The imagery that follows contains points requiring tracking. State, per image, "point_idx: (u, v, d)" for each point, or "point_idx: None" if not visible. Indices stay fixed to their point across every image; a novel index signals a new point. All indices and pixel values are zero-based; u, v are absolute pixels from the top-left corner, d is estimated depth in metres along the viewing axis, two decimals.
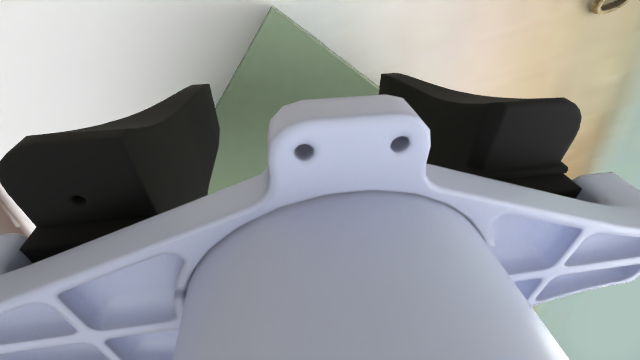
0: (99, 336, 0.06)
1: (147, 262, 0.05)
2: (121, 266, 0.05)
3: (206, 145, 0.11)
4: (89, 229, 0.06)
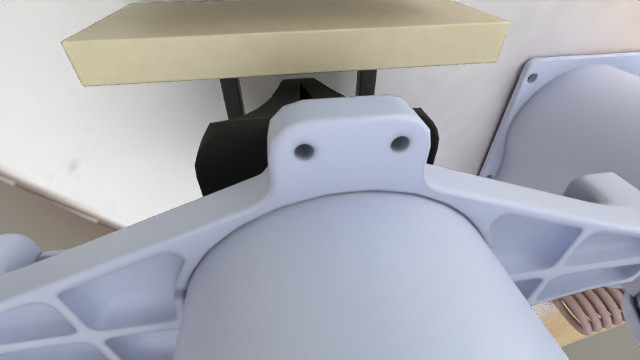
0: (99, 336, 0.06)
1: (147, 262, 0.05)
2: (120, 266, 0.05)
3: None
4: None
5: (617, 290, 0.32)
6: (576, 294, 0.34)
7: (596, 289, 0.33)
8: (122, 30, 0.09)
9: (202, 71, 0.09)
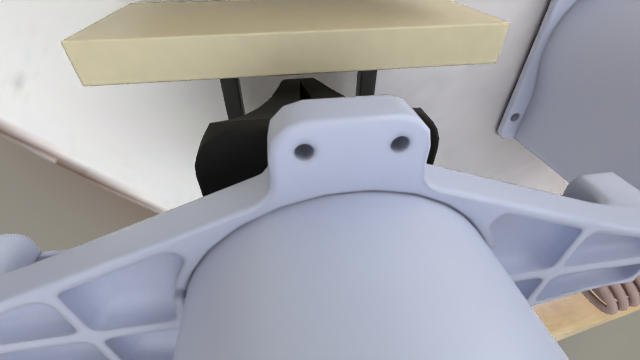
0: (99, 336, 0.06)
1: (147, 262, 0.05)
2: (120, 266, 0.05)
3: None
4: None
5: None
6: None
7: None
8: (122, 30, 0.09)
9: (202, 71, 0.09)
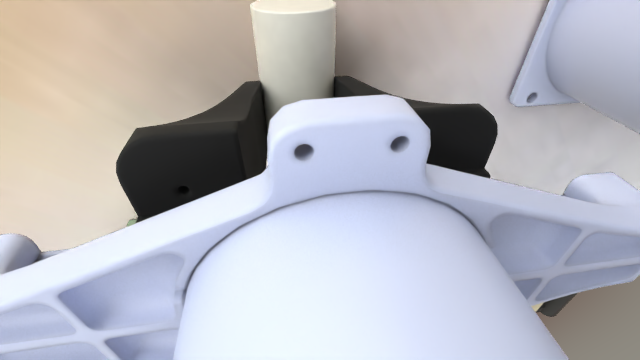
0: (99, 336, 0.06)
1: (147, 262, 0.05)
2: (120, 266, 0.05)
3: (262, 141, 0.11)
4: None
5: None
6: None
7: None
8: None
9: None
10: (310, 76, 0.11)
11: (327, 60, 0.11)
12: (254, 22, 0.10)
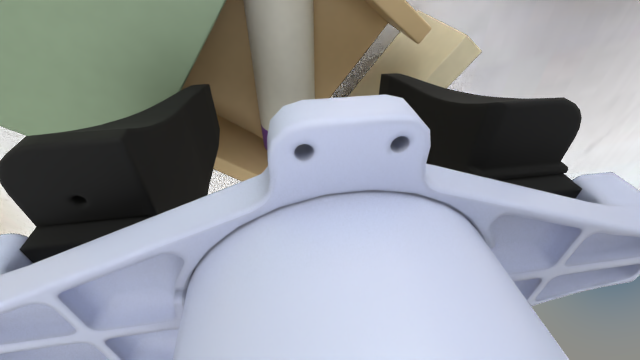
0: (99, 336, 0.06)
1: (147, 262, 0.05)
2: (120, 266, 0.05)
3: (206, 145, 0.11)
4: (89, 229, 0.06)
5: None
6: None
7: None
8: None
9: None
10: (281, 52, 0.13)
11: (298, 40, 0.13)
12: (244, 4, 0.13)
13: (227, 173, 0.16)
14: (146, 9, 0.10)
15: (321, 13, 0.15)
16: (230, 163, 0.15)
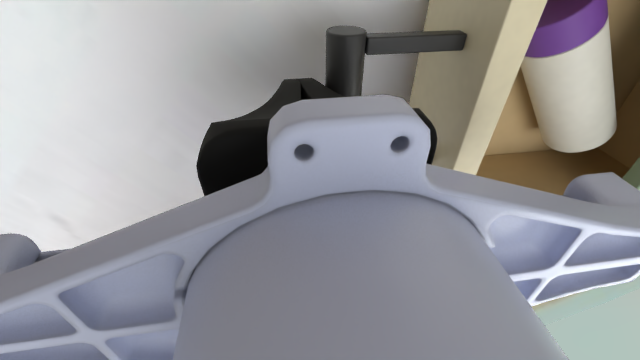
0: (99, 336, 0.06)
1: (147, 262, 0.05)
2: (120, 266, 0.05)
3: None
4: None
5: None
6: None
7: None
8: None
9: (503, 42, 0.10)
10: (607, 109, 0.14)
11: (589, 126, 0.14)
12: None
13: None
14: None
15: (507, 128, 0.17)
16: None
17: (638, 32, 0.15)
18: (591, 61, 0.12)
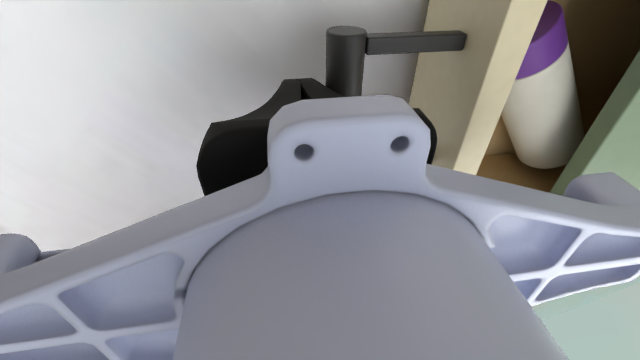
0: (99, 336, 0.06)
1: (147, 262, 0.05)
2: (120, 266, 0.05)
3: None
4: None
5: None
6: None
7: None
8: None
9: (503, 42, 0.10)
10: (539, 143, 0.15)
11: (523, 147, 0.15)
12: None
13: None
14: None
15: None
16: None
17: (638, 32, 0.15)
18: (513, 99, 0.13)
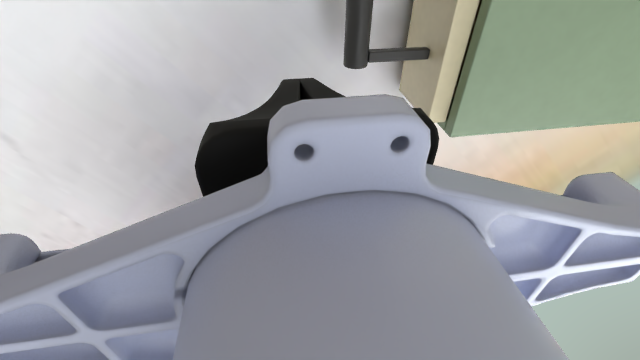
0: (99, 336, 0.06)
1: (147, 262, 0.05)
2: (121, 266, 0.05)
3: None
4: None
5: None
6: None
7: None
8: None
9: None
10: None
11: None
12: None
13: None
14: (522, 16, 0.15)
15: None
16: None
17: None
18: None
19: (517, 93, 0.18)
